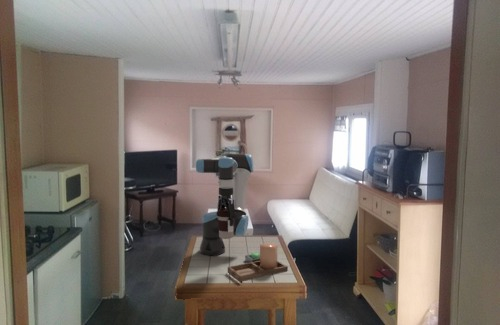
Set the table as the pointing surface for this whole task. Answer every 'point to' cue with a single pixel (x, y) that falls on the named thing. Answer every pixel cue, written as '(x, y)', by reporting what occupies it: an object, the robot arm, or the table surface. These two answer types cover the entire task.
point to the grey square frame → (251, 259)
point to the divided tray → (253, 270)
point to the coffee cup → (224, 224)
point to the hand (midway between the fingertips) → (226, 229)
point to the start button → (255, 255)
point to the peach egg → (268, 256)
